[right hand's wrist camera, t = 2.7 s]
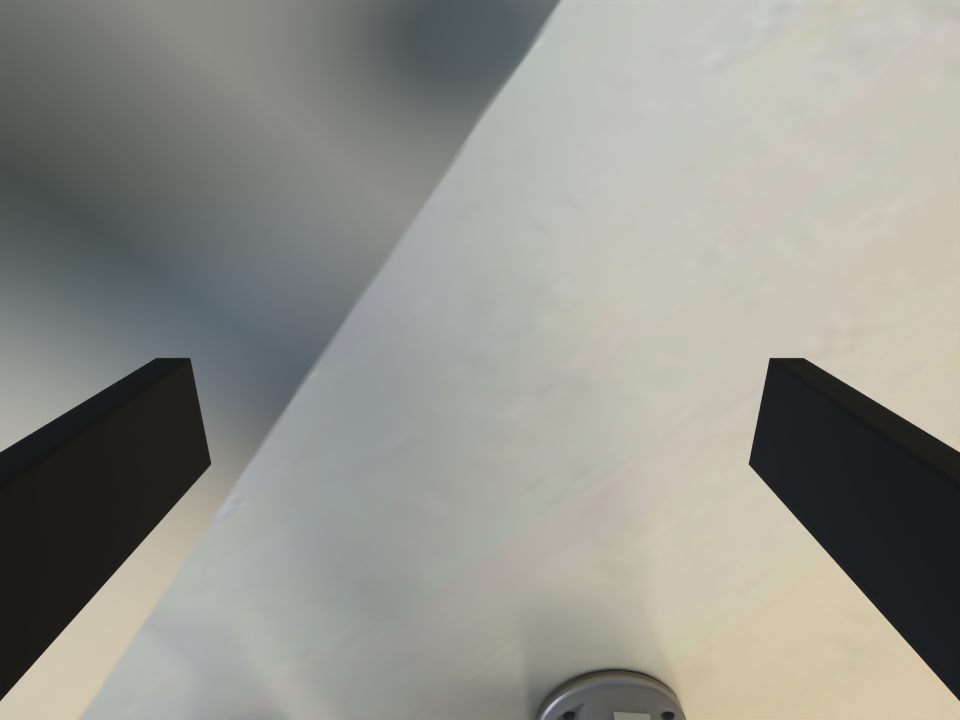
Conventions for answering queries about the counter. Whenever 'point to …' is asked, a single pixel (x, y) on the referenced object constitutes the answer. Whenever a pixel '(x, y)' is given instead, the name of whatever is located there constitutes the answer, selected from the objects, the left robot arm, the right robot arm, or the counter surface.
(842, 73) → the counter surface
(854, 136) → the counter surface
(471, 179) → the counter surface
